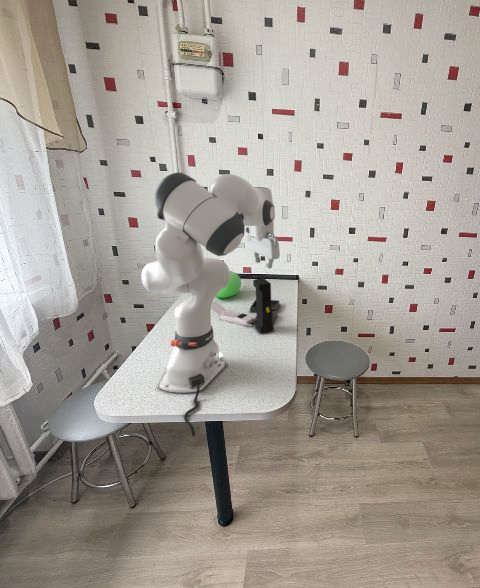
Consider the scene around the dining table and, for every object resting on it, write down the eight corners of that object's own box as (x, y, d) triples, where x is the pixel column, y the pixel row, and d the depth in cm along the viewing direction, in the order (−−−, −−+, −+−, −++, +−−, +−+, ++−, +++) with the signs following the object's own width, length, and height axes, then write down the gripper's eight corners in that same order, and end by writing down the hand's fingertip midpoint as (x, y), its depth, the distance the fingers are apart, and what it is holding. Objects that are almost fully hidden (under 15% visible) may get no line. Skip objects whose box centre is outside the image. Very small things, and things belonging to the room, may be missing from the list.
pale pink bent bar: (214, 300, 157) (258, 310, 148) (215, 311, 159) (258, 322, 150) (205, 304, 151) (249, 316, 142) (206, 316, 154) (250, 328, 145)
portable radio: (275, 332, 143) (274, 277, 133) (262, 335, 139) (260, 279, 130) (267, 324, 149) (266, 272, 139) (254, 327, 145) (252, 273, 136)
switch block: (271, 325, 149) (271, 317, 147) (254, 323, 149) (253, 315, 147) (276, 315, 158) (276, 307, 156) (259, 314, 158) (259, 306, 157)
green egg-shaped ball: (228, 304, 167) (226, 277, 161) (200, 299, 171) (197, 272, 166) (247, 292, 183) (246, 267, 177) (221, 288, 187) (219, 263, 182)
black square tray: (275, 313, 159) (275, 309, 158) (250, 312, 160) (250, 307, 159) (279, 305, 169) (279, 300, 168) (255, 303, 170) (255, 299, 169)
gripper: (283, 234, 122) (283, 270, 127) (257, 226, 137) (258, 258, 142) (268, 236, 119) (269, 273, 124) (243, 227, 133) (244, 260, 138)
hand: (263, 265), depth 133 cm, fingers open, 8 cm apart
